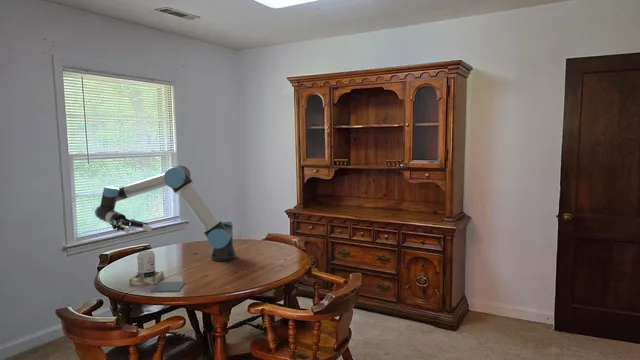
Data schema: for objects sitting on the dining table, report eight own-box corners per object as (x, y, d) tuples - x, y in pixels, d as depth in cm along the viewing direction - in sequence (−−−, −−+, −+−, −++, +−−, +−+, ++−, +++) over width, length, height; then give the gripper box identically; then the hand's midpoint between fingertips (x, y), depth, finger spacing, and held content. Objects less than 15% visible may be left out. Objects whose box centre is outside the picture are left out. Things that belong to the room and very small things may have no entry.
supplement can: (141, 278, 222) (140, 250, 221) (157, 277, 223) (156, 250, 221) (136, 283, 214) (134, 254, 212) (152, 283, 215) (151, 254, 213)
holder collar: (163, 276, 225) (163, 270, 225) (156, 284, 212) (155, 278, 212) (138, 276, 224) (138, 271, 224) (129, 285, 211) (129, 279, 211)
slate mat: (185, 282, 215) (185, 281, 215) (178, 291, 202) (178, 290, 202) (159, 283, 214) (159, 282, 214) (151, 292, 201) (150, 291, 201)
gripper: (134, 224, 246) (158, 235, 235) (93, 226, 224) (117, 238, 214) (137, 212, 245) (160, 222, 235) (96, 212, 223) (120, 224, 213)
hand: (140, 230), depth 224 cm, fingers open, 13 cm apart
